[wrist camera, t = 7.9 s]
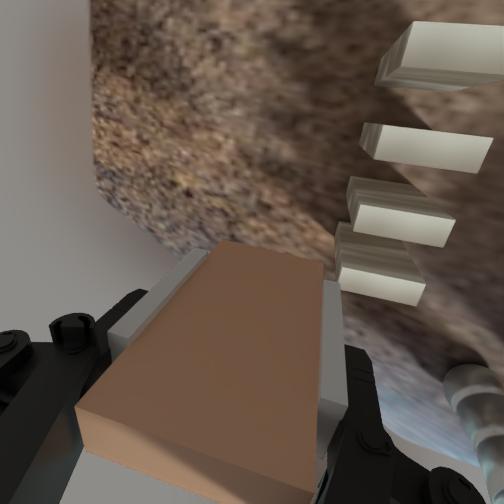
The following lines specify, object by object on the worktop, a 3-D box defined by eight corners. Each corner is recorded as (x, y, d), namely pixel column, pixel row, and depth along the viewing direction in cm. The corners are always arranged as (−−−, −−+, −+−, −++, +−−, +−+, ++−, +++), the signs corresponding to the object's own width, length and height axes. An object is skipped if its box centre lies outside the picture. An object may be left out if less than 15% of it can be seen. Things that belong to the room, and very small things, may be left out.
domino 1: (380, 59, 24) (413, 21, 15) (456, 64, 23) (544, 28, 14) (373, 85, 25) (400, 66, 16) (446, 92, 24) (522, 76, 15)
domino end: (221, 239, 17) (74, 406, 7) (323, 262, 16) (314, 493, 6) (219, 267, 18) (85, 450, 8) (314, 292, 17) (295, 532, 7)
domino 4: (338, 220, 31) (342, 266, 22) (395, 231, 30) (426, 284, 21) (334, 237, 32) (336, 288, 22) (389, 247, 31) (416, 306, 21)
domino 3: (350, 175, 29) (360, 204, 19) (412, 184, 28) (455, 220, 18) (345, 194, 30) (352, 231, 20) (405, 204, 29) (443, 247, 19)
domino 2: (364, 122, 27) (383, 125, 17) (432, 130, 26) (493, 137, 16) (358, 144, 28) (373, 159, 18) (423, 153, 27) (477, 173, 17)
